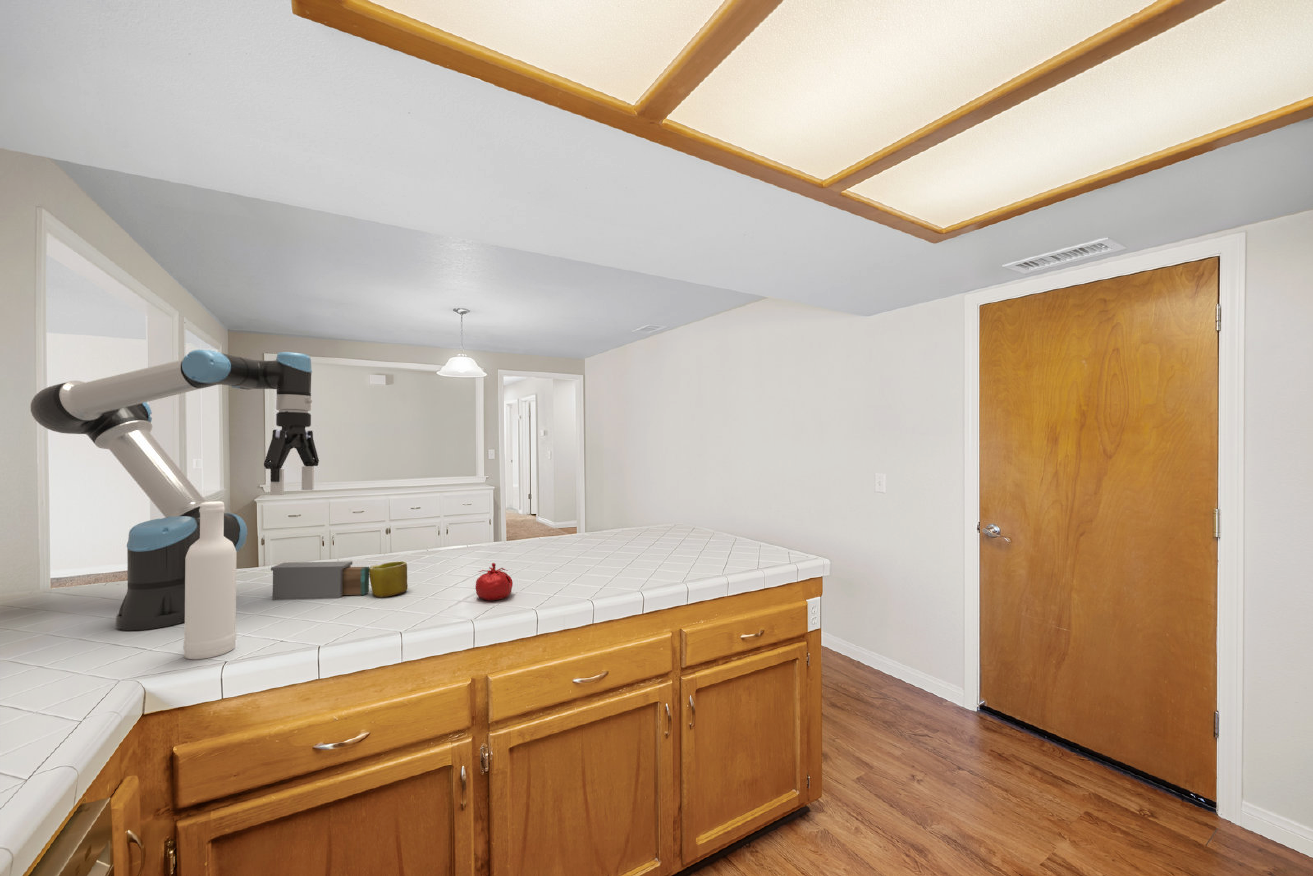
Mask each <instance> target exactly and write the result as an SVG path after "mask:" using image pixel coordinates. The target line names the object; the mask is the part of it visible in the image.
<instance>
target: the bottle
mask: <svg viewBox="0 0 1313 876" xmlns="http://www.w3.org/2000/svg"><path fill="white" fill-rule="evenodd" d="M225 510H226V508H225V502H223V501H218V500H217V501H207V502H203V503H201V504H200V509H199V512H200V538H199V539H198V540H197V541H196V542H195V543H194V544H192V545H191V546H190V548H189V550H188V552H187V555H186V557H185V622H184V640H183V650H184V651H183V653H184V655H183V657H184V658H185V659H189V660H204V659H209V658H214V657H218V656H222V655H224V654H227V653H230V652H232V651H233V650H234V649H235V647H236V640H237V631H236V629H237V627H236V624H237V623H236V621H237V620H236V619H237V552H236V549H235V547H234V545H233V542H231V541H230V540H229V539H227V538H226V537H224V513H225Z"/></svg>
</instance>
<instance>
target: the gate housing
mask: <svg viewBox="0 0 1313 876" xmlns="http://www.w3.org/2000/svg"><path fill="white" fill-rule="evenodd" d="M352 565H353V561H316V562H315V561H305V562H304V561H302V562H301V561H300V562H296V561H295V562H292V561H291V562H282V563H279V564H277V565H274V566H271V567H270V571H272V600H274V601H275V600H301V599H302V600H303V599H305V600H309V599H340V598H342V597H343V595H342V587H343V569H344V568H346V567H352Z"/></svg>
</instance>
